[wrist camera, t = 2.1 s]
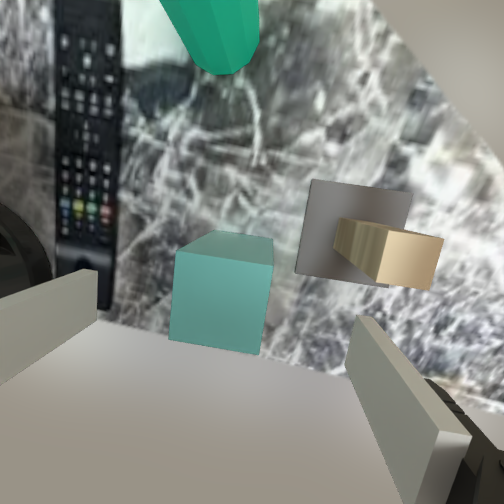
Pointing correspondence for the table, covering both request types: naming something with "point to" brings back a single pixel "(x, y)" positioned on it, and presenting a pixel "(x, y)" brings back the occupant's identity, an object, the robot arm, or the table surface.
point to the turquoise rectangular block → (222, 291)
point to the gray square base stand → (364, 238)
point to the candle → (216, 31)
